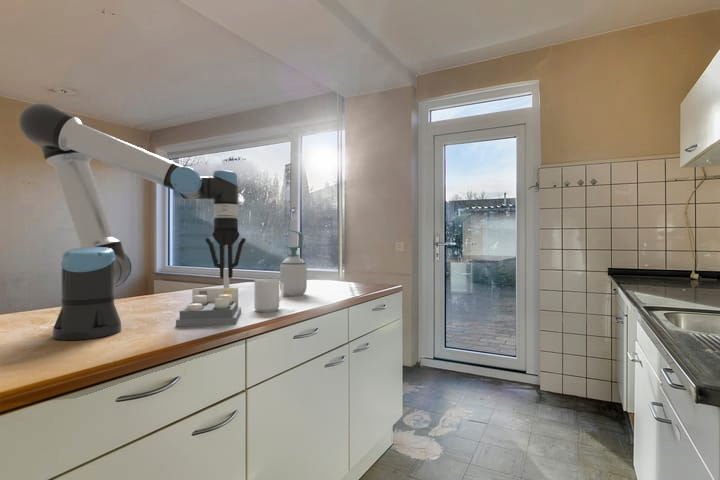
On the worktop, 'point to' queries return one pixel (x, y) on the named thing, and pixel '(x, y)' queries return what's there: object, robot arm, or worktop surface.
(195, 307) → the button front left
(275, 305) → the mug
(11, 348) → the worktop surface
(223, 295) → the button back right
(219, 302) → the button front right
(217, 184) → the robot arm
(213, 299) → the button pad
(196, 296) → the button back left
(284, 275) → the soap bottle
